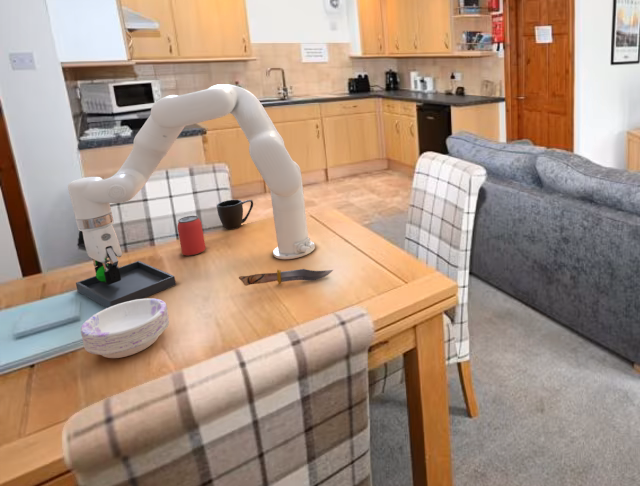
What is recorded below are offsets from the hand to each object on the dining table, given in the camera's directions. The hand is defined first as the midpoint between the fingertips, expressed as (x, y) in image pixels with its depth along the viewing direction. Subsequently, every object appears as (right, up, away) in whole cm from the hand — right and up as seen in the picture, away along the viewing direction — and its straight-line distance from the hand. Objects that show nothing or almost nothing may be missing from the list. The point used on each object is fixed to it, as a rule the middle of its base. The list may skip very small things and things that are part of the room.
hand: (109, 279), depth 133 cm
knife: (+52, -2, 0) cm, 52 cm away
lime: (0, -1, 0) cm, 1 cm away
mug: (+11, +8, +44) cm, 46 cm away
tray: (+6, -2, -1) cm, 6 cm away
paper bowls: (+28, -8, -26) cm, 39 cm away
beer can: (+10, +3, +22) cm, 24 cm away
